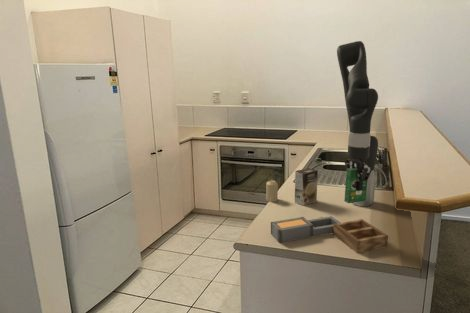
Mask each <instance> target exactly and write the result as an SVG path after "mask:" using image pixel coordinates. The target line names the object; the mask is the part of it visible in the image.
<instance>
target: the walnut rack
mask: <svg viewBox="0 0 470 313" xmlns="http://www.w3.org/2000/svg"><path fill="white" fill-rule="evenodd" d="M332 234H333V236H334V237H335V238H337V239H338V240H340V241H341V242H342V243H343V244H345V245H346V246H347V247H348V248H349V249H351V250H352V251H354V252H355V254H358V253H359V254H360V253H364V252H368V251H369V252H370V251H373V250H378V249H383V248H388V242H389V234H386V233H385V232H384V231H382V230H380V229H379V228H377V227H375V226H374V225H372V224H370V223H369V222H367V221H366V220H364V219H362V218H361V219H357V220H349V221H344V222H341V223H338V224H334V231H333V233H332Z"/></svg>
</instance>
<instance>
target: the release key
mask: <svg viewBox="0 0 470 313" xmlns="http://www.w3.org/2000/svg"><path fill="white" fill-rule="evenodd" d="M306 224H307V223H305V222H304V221H303V220H302V219H300V220H294V221H288V222H282V223H276V225H277V226H278V227H279V228H280V229H283V228H288V227H294V226H300V225H306Z"/></svg>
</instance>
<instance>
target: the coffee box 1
mask: <svg viewBox="0 0 470 313" xmlns="http://www.w3.org/2000/svg"><path fill="white" fill-rule="evenodd" d="M294 171H295V174H294V178H295V179H294V203H295V204H298V205H301V206H302V207H303V206H306V205H310V204H313V203H316V202H317V200H318V198H317V197H318V174H319V171H318V170H316V169H314V168H311V167H309V168H302V169H298V170H294Z"/></svg>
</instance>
